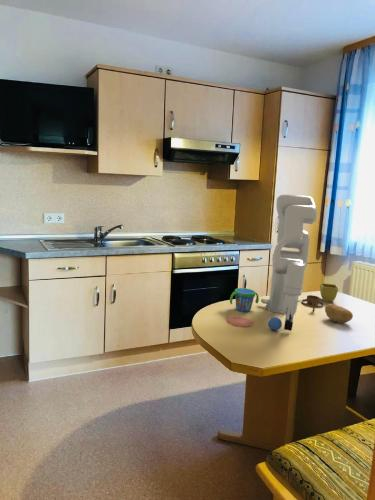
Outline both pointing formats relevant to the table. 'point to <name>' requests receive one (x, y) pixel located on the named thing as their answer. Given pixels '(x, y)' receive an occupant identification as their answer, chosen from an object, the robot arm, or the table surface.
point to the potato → (338, 313)
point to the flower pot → (328, 291)
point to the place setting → (312, 302)
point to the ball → (275, 323)
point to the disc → (240, 321)
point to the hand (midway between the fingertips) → (287, 329)
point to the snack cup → (244, 299)
